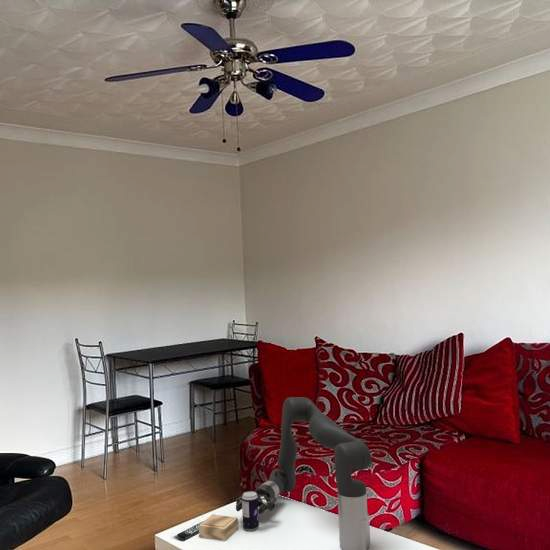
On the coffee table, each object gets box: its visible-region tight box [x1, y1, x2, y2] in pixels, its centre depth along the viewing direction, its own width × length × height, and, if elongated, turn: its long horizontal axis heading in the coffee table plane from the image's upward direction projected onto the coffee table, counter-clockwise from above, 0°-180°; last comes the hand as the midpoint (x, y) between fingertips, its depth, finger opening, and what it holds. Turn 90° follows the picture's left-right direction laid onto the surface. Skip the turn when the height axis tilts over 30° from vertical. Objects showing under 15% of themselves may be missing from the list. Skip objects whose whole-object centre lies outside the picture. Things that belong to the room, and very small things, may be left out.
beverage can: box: [241, 491, 260, 532], centre depth 201 cm, size 6×6×12 cm
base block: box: [198, 514, 239, 542], centre depth 198 cm, size 10×10×4 cm
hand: (248, 509), depth 199 cm, fingers open, 8 cm apart
